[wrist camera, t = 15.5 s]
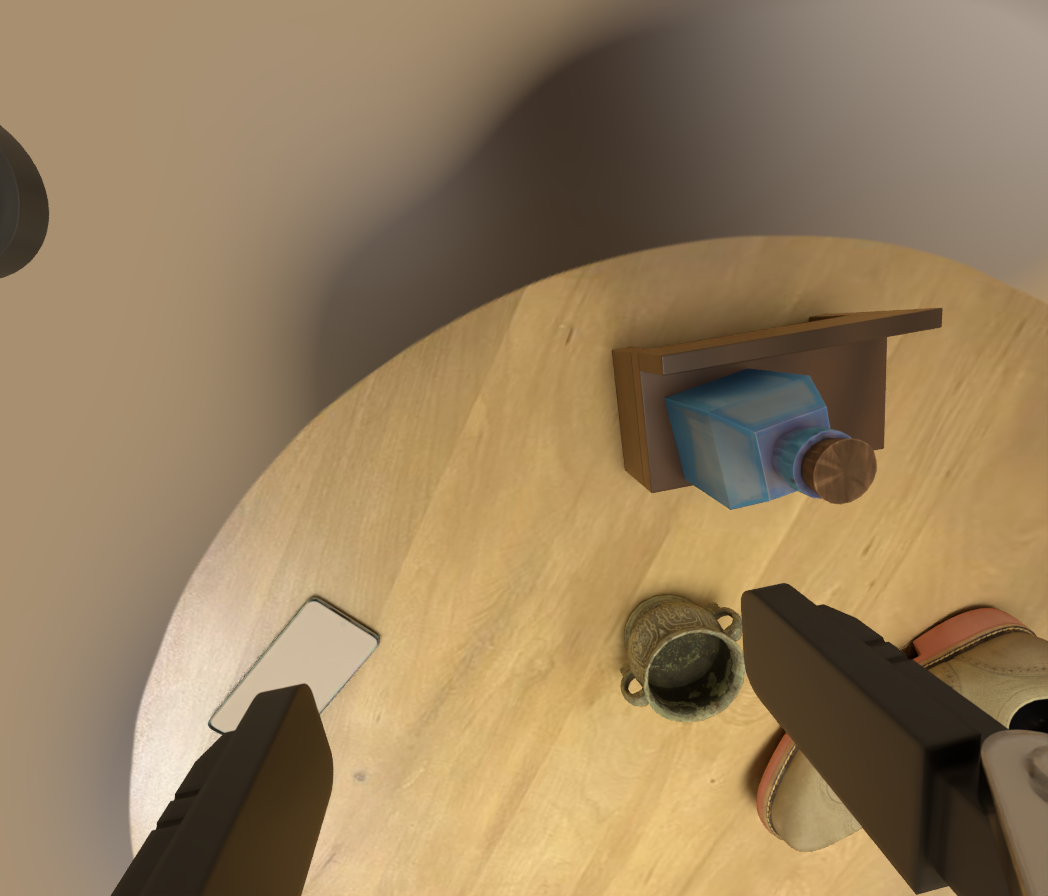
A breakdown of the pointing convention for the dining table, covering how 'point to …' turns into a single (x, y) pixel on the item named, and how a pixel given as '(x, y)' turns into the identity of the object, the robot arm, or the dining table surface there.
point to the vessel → (682, 658)
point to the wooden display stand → (806, 349)
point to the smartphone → (303, 661)
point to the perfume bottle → (765, 441)
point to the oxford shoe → (958, 660)
